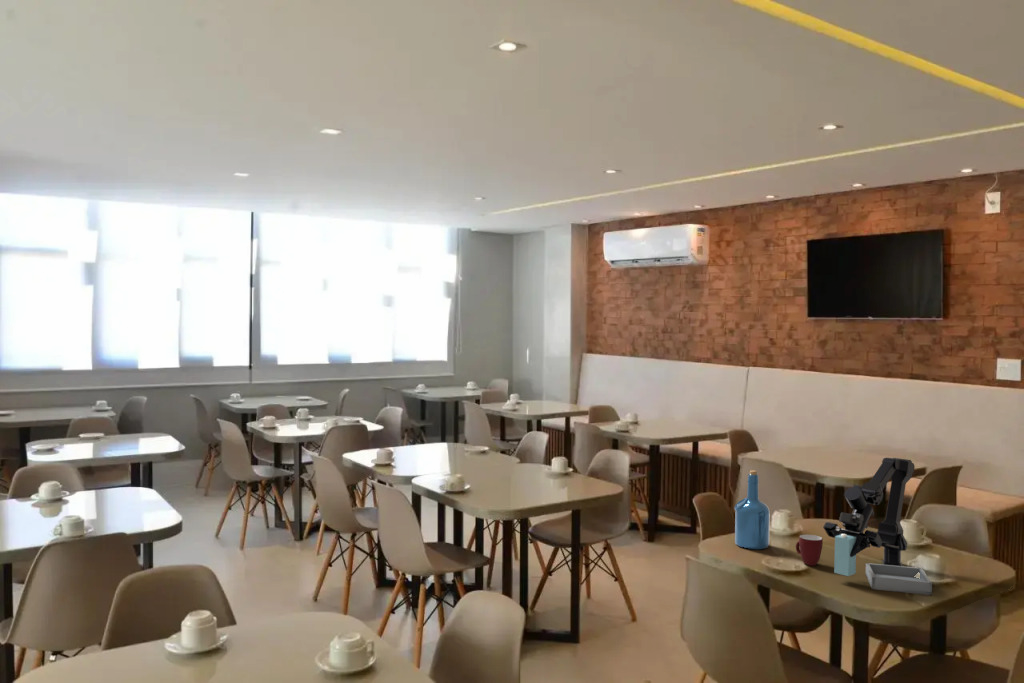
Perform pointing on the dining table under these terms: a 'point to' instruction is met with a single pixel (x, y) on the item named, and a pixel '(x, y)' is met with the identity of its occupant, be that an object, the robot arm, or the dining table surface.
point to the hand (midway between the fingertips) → (843, 554)
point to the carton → (844, 555)
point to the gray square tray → (898, 579)
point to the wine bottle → (752, 518)
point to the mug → (810, 548)
